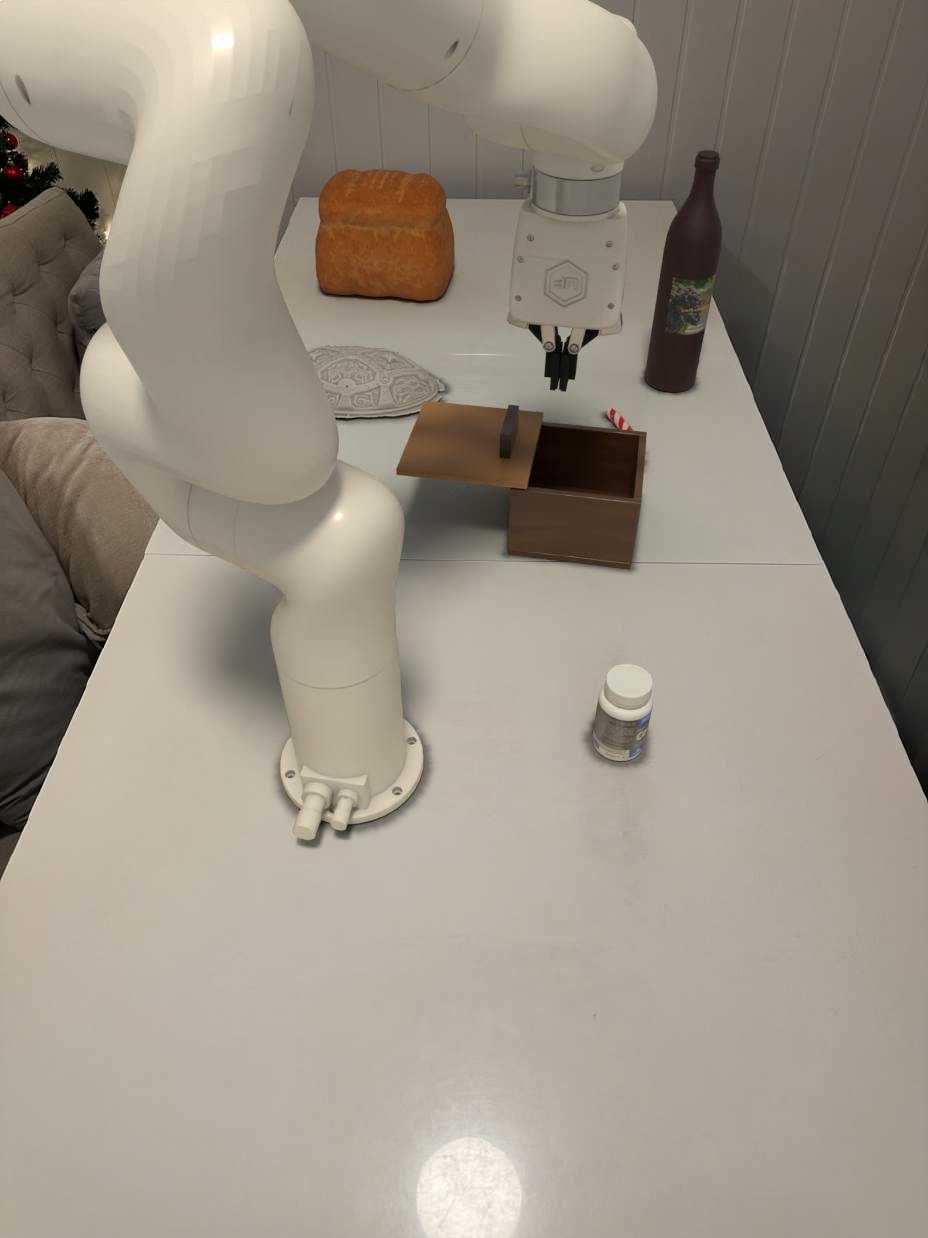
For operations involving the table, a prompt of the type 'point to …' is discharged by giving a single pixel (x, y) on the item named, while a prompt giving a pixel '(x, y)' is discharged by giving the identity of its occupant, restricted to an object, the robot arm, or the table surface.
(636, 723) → the pill bottle
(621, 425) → the candy cane
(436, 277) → the bread
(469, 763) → the table surface
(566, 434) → the slide box
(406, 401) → the grey carved stone plaque
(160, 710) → the table surface
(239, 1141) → the table surface
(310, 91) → the robot arm
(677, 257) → the wine bottle
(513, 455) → the slide lid
